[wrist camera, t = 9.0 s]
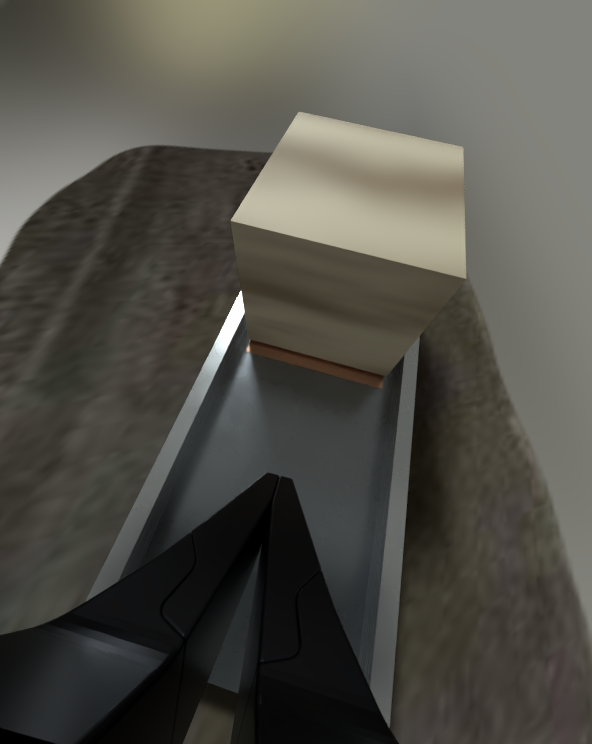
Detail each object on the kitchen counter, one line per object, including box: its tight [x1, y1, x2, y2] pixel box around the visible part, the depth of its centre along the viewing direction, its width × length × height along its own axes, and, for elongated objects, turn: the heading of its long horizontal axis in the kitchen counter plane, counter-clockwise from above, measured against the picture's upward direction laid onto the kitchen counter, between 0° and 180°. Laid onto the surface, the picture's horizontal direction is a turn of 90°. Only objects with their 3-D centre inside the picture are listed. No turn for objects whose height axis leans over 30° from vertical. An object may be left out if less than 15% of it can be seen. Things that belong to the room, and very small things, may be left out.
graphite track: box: [86, 292, 420, 728], centre depth 16 cm, size 29×12×4 cm, turn 165°
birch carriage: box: [231, 112, 466, 377], centre depth 16 cm, size 10×9×8 cm
